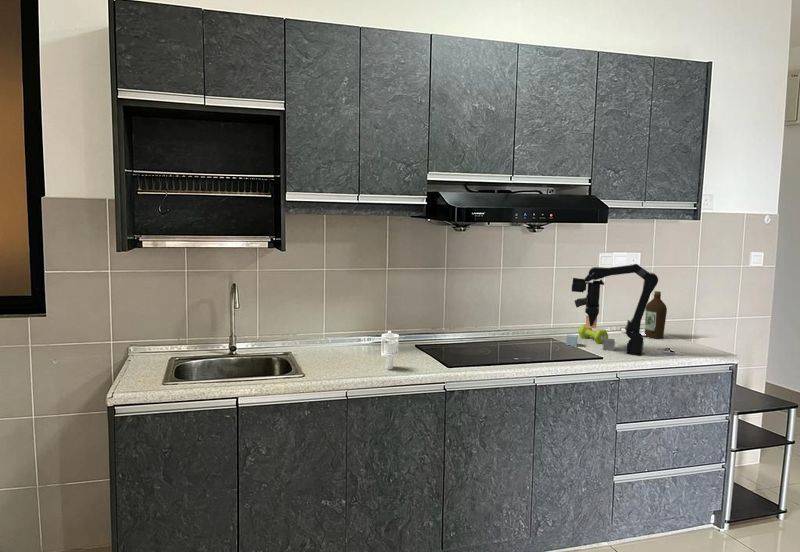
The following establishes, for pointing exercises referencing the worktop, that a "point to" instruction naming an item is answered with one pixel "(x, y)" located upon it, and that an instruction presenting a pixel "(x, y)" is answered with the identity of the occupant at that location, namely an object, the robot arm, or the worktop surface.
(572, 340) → the slate block
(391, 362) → the clear stepped cylinder
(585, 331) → the dumbbell
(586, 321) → the terracotta block
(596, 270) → the robot arm
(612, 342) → the charcoal block
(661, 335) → the olive oil
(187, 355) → the worktop surface
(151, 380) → the worktop surface
